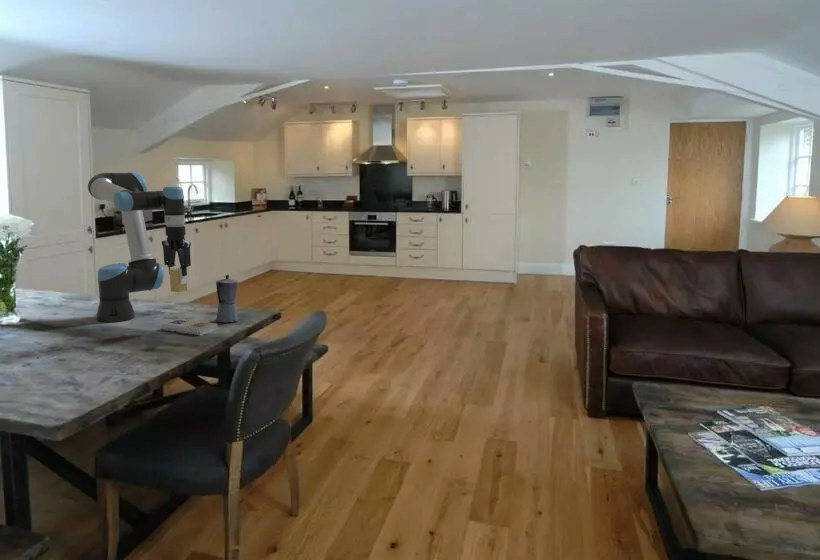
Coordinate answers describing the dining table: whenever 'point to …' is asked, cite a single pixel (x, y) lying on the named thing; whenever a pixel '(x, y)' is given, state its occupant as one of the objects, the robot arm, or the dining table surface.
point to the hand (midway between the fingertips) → (178, 283)
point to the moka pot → (227, 300)
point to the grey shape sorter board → (189, 326)
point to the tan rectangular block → (176, 281)
